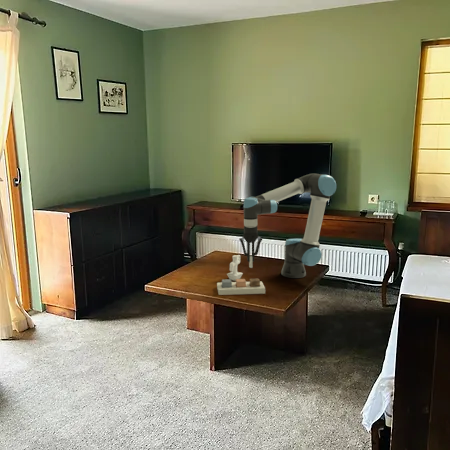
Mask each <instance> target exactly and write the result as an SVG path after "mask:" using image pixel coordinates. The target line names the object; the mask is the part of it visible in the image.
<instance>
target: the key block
mask: <svg viewBox="0 0 450 450" xmlns="http://www.w3.org/2000/svg"><path fill="white" fill-rule="evenodd" d="M231 282H232V287H231V288H222V281H221V282H217V283H216V289H217V293H218V296H219V295H220V296H222V295H223V296H228V295H230V296H231V295H263V294H265V295H266V286H265V285H264V283H263V281H260V287H250V281H246V287H236V281H231Z"/></svg>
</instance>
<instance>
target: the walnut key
mask: <svg viewBox="0 0 450 450" xmlns="http://www.w3.org/2000/svg"><path fill="white" fill-rule="evenodd" d="M249 282H250V287H260V279H259V278H249Z"/></svg>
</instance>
